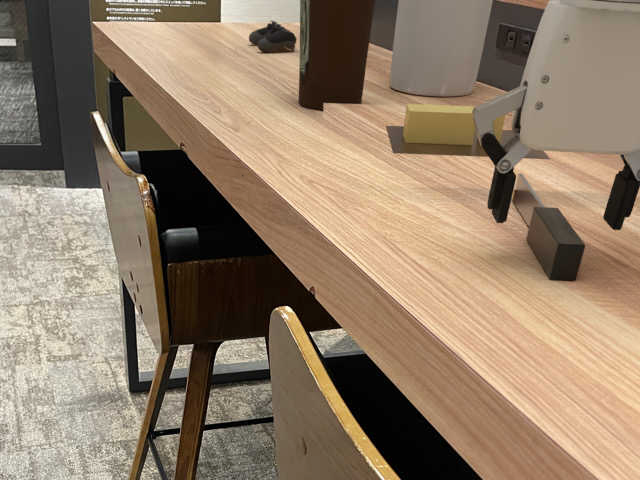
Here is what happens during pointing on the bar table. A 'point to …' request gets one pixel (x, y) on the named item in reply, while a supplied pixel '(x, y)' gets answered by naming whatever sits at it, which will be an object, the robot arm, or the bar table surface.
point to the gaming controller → (273, 38)
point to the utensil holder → (438, 46)
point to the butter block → (439, 124)
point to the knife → (549, 234)
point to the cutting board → (448, 146)
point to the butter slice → (498, 127)
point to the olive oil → (333, 51)
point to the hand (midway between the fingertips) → (554, 221)
